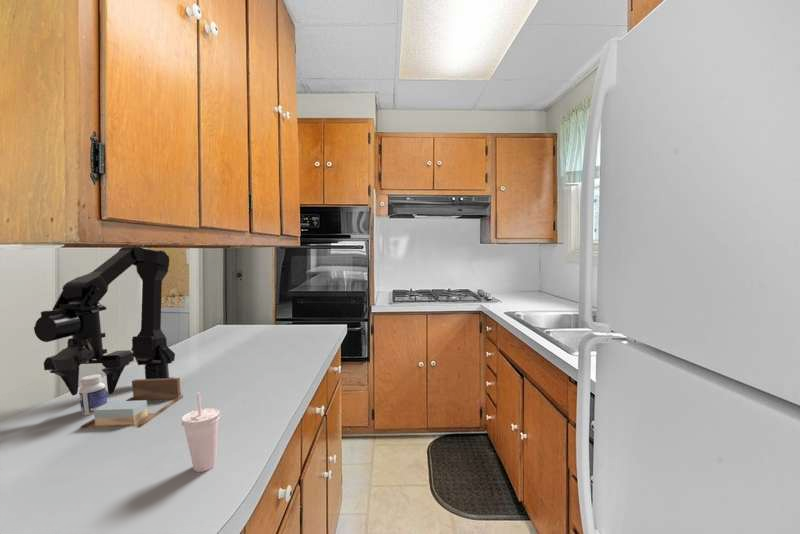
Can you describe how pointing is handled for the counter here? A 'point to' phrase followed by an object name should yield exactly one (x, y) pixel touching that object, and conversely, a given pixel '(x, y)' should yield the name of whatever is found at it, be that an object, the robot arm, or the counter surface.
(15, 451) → the counter surface
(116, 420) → the offcut lower
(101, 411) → the offcut upper
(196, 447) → the smoothie
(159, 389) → the rack
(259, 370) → the counter surface
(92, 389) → the pill bottle
